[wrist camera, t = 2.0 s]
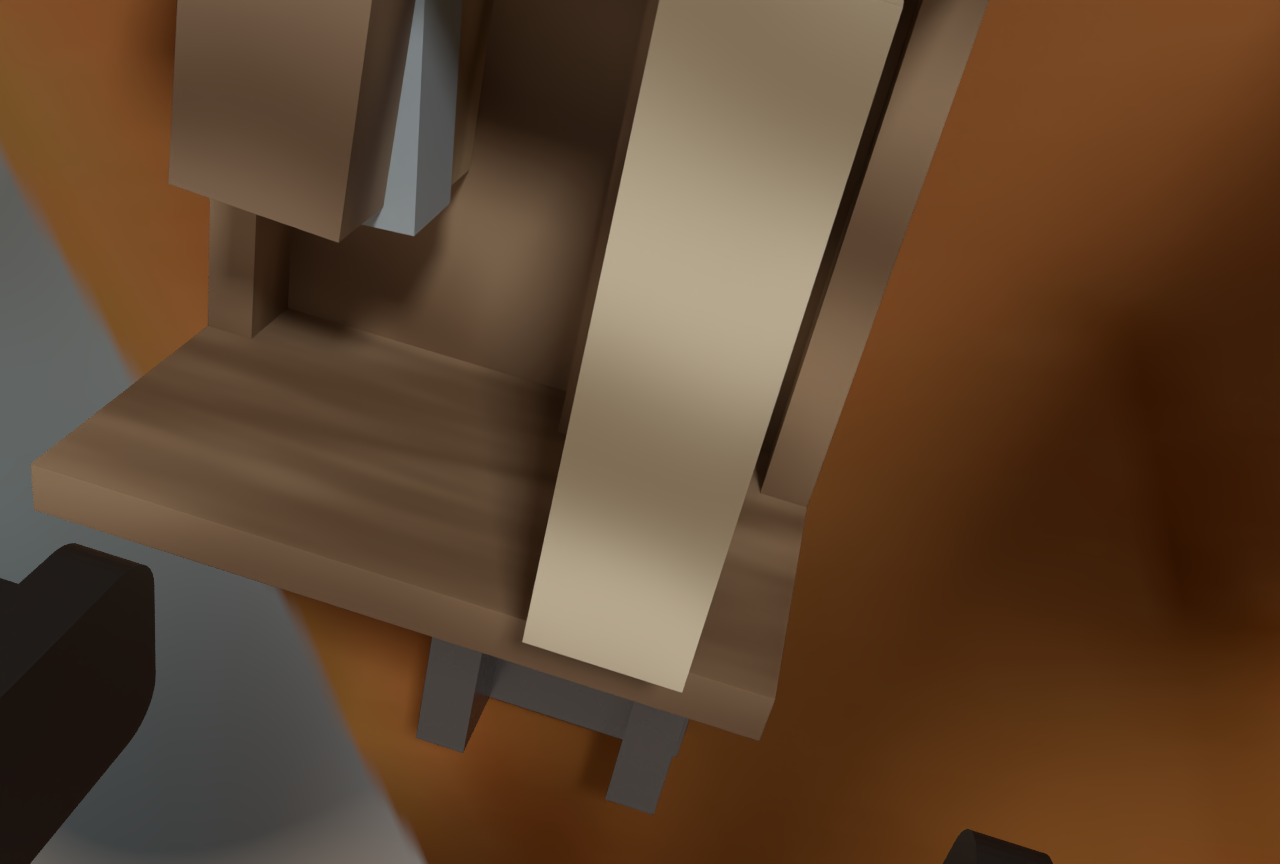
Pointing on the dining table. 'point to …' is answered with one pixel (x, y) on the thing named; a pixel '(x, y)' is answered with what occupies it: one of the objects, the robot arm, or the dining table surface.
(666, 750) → the stand
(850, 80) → the beige rectangular slab
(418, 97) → the offcut
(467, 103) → the offcut
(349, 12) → the offcut
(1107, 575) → the dining table surface
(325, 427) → the rack
